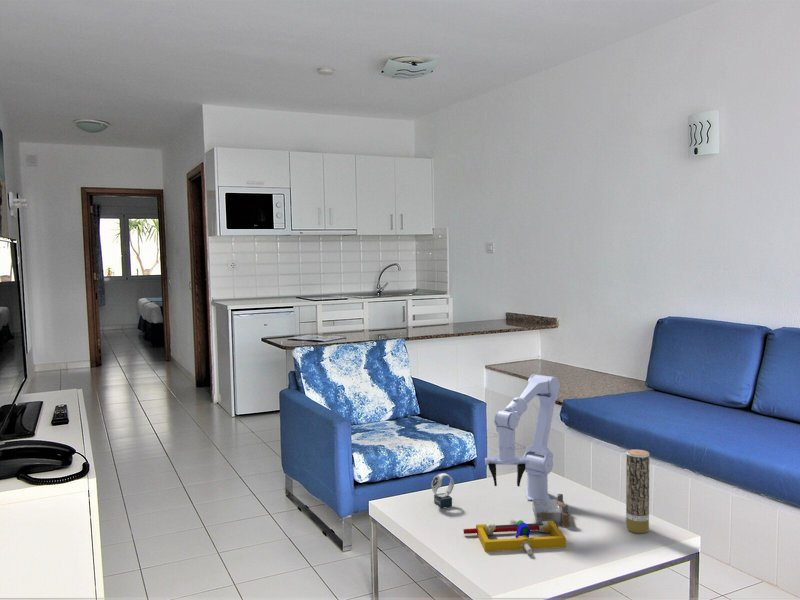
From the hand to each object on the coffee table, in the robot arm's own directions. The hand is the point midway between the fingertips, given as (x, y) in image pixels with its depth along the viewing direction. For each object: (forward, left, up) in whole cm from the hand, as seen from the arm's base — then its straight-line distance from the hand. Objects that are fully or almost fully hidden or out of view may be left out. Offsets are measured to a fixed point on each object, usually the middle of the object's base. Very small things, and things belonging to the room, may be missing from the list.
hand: (506, 485), depth 230 cm
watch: (-6, -22, -10) cm, 25 cm away
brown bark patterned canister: (+13, +40, -10) cm, 43 cm away
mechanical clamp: (+24, +1, -10) cm, 26 cm away
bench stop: (+4, +18, -9) cm, 21 cm away
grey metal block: (+3, +13, -10) cm, 16 cm away
